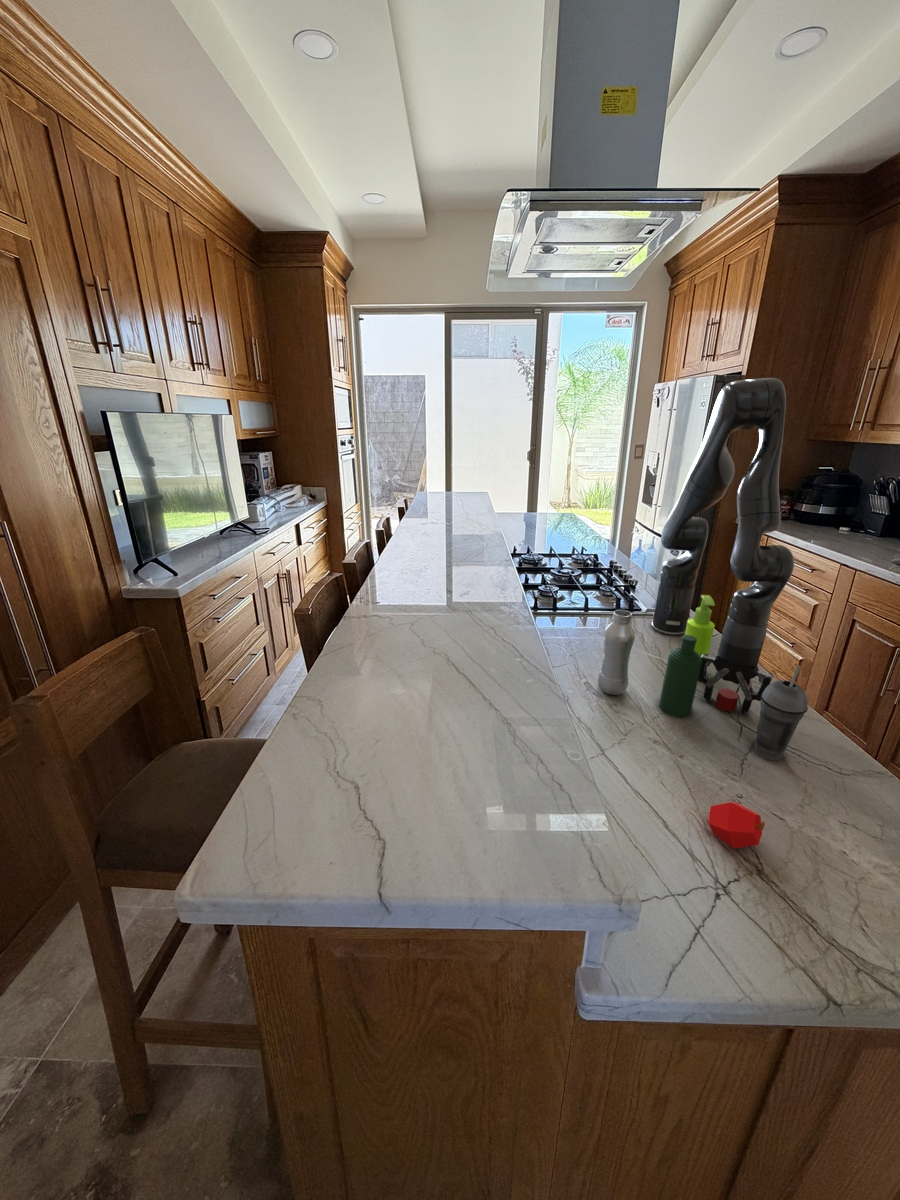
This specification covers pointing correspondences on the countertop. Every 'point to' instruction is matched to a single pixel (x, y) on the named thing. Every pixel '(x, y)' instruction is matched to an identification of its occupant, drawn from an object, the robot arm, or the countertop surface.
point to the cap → (726, 700)
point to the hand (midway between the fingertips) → (725, 705)
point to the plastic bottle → (616, 654)
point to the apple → (736, 824)
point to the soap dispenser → (702, 626)
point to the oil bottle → (681, 678)
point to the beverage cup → (779, 716)
